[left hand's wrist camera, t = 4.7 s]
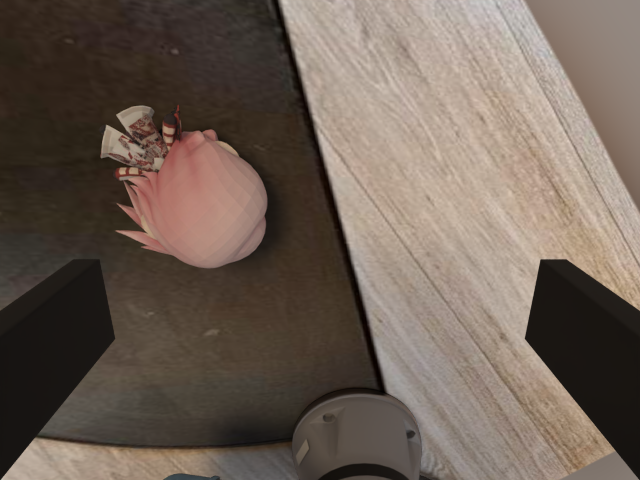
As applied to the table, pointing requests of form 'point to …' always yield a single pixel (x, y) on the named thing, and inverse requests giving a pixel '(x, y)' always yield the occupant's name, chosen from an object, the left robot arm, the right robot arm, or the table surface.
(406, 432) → the left robot arm
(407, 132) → the table surface
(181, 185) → the toy
